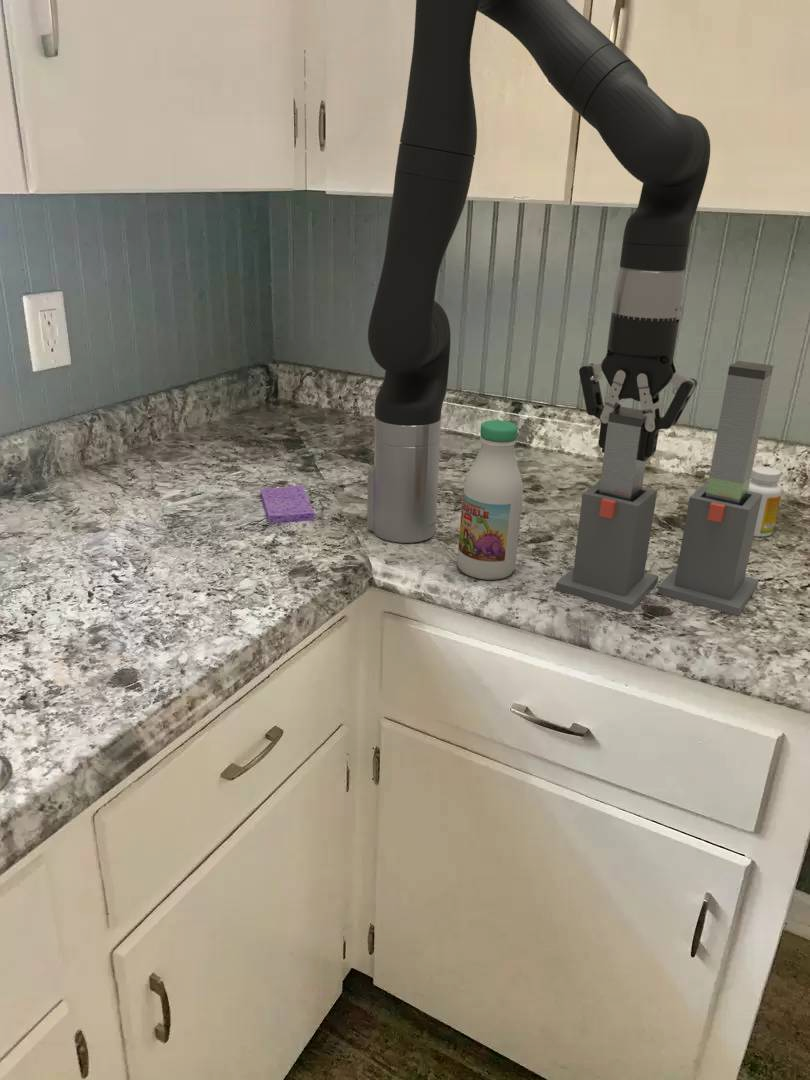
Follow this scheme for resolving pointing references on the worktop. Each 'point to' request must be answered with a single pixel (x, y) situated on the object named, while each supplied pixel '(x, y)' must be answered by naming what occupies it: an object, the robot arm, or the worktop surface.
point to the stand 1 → (612, 550)
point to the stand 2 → (715, 554)
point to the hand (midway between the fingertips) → (625, 455)
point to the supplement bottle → (766, 498)
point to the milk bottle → (491, 505)
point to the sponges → (287, 504)
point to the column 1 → (623, 455)
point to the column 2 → (738, 431)
